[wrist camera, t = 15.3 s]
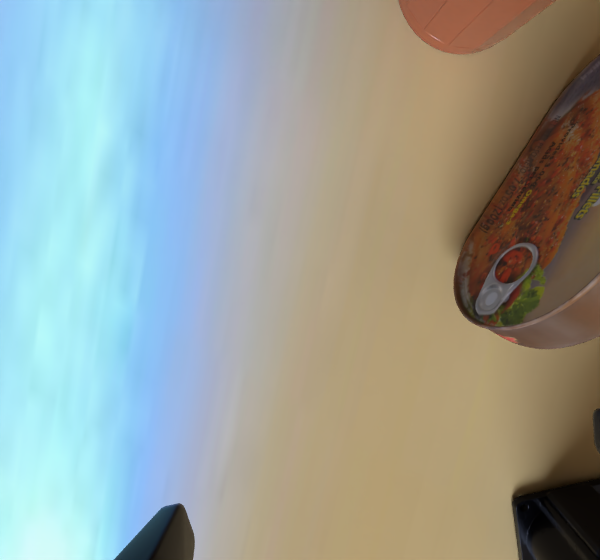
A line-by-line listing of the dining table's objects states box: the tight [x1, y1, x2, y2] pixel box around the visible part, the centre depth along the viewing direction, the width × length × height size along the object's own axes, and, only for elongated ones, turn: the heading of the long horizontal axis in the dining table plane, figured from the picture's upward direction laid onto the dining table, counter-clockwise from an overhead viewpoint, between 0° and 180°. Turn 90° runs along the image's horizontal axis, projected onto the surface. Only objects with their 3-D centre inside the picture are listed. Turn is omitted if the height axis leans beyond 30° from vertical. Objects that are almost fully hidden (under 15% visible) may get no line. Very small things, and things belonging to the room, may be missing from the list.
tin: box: [454, 54, 600, 349], centre depth 16 cm, size 15×3×8 cm, turn 150°
